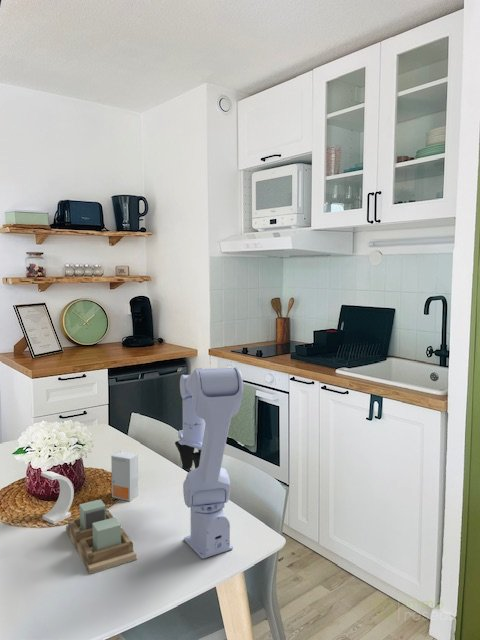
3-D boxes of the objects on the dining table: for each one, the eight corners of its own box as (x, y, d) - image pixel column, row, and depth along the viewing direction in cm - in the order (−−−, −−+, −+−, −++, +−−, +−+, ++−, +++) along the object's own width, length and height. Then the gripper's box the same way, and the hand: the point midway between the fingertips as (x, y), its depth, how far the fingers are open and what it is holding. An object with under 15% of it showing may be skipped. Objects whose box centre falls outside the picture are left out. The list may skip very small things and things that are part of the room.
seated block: (106, 531, 119) (106, 506, 118) (85, 537, 116) (84, 512, 116) (101, 523, 123) (100, 499, 122) (80, 528, 120) (79, 504, 119)
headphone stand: (42, 518, 127) (40, 472, 126) (63, 509, 132) (62, 464, 131) (53, 524, 124) (52, 477, 123) (74, 514, 129) (73, 469, 128)
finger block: (121, 551, 111) (120, 525, 110) (98, 558, 108) (97, 531, 107) (114, 541, 114) (114, 516, 114) (92, 548, 112) (91, 522, 111)
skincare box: (111, 498, 138) (110, 455, 137) (120, 491, 142) (119, 450, 141) (130, 502, 136) (129, 458, 135) (139, 495, 140) (138, 453, 139)
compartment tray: (136, 559, 110) (136, 545, 109) (89, 574, 105) (89, 559, 104) (107, 519, 127) (107, 507, 126) (66, 530, 121) (65, 517, 121)
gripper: (167, 416, 132) (167, 466, 134) (192, 433, 120) (192, 488, 121) (192, 412, 136) (192, 461, 137) (218, 427, 123) (218, 481, 125)
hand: (194, 473), depth 130 cm, fingers open, 7 cm apart
